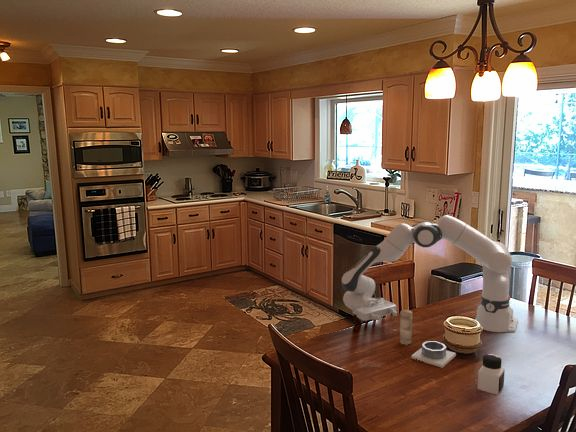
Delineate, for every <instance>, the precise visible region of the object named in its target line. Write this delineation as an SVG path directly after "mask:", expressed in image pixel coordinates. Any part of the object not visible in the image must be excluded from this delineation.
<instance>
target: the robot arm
mask: <svg viewBox="0 0 576 432" xmlns="http://www.w3.org/2000/svg"><path fill="white" fill-rule="evenodd" d="M441 239H443V240H446V241H448V243H451V244H453V246H456V247H457V248H459V249H460V250H462V251H464V252H465V253H466V254H469V255H470V256H471V257H472V258H473V259H475V260H476V261H477V262H479V263H480V264H482V289H481V291H482V292H481V296H480V304H479V305H477V309H476V317H475V318H474V319H475V320H477V321H478V322H479V323H480V324H481V326H482V327H483V328H484V329H483V330H484V331H487V332H492V333H506V332H510V333H515V332H516V330H517V326H518V323H519V319H518V318H516V317H515V316H514V309H513V308H512V307H511V306H510V300H511V296H510V295H509V290H510V289H509V287H510V279H509V278H510V277H509V270H510V268H511V266H512V264H513V259H512V258H513V257H512V255H511V253H510V251H509V249H508V248H507V246H506V245H505V243H502V242H500V241H494V240H492V239H490V238H489V237H488V236H486V235H485V234H483V233H482V232H481V231H479V230H477V229H475V228H474V227H473V226H471V225H469V224H468V223H466V222H464V221H462V220H460V219H458V218H456V217H454V216H452V215H451V216H450V215H448V214H445V215H443V216H441V217H440V218H438V220H437V221H436V222H435V223H433V222H432V221H430V220H429V221H428V220H423V221H420V222H418V223H415V224H413V225H409V224H408V223H404V222H402V223H399V224H397V225H396V226H395V227H394V228H393V229H392V230H391V231H390V232H389V233H388V234H387V236H386V237H385V238H384V239H383V241H381V242H380V243H379V244H377V245H375V246H372V247H370V249H368V250H367V251H366V253H364V255H363V256H362V257H361V258H360V259H358V261H357V262H356V263H354V264H353V265H352V266H351V267H350V268H349V269H348V270H346V271H345V272H344V273H343V274H342V275H341V278H340V279H341V280H340V282H341V286H342V288H343V290H344V291H346V292H345V293H344V294H343V297H342V300H343V303H344V305H345V306H346V307H347V308H348V309H349V310H352V314H353V315H355V316H356V317H357V318H358V319H359V320H360V321H363V322H366V321H370V320H376V321H377V322H378V321H381V320H382V317H385V316H388V315H391V316H393V317H395V316H398V312H397V304H396V303H393V302H391V301H389V300H386V299H384V298H383V297H374V295H375V292H376V287H377V286H376V285H377V284H376V282H375V280H374V279H373V278H371V277H369V276H367V275H364V273H365V272H366V271H367V270H369V268H370V267H371V266H372V265H374V264H376V263H381V262H382V263H383V262H387V263H388V262H389V263H390V262H391V263H392V262H397V261H398V260H399V259H400V258H401V257H402V256H403V254H404V253H406V250H407V249H408V248H409V247H410V246H411V245H412V244H414V243H416V245H418V246H419V247H421V248H430V247H433V246H434V245H435V244H437V243H438V242H439V241H440V240H441Z"/></svg>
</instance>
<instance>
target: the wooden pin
mask: <svg viewBox="0 0 576 432" xmlns="http://www.w3.org/2000/svg"><path fill="white" fill-rule="evenodd" d="M399 312H400V314H399V317H400V318H399V344H400V343H401V344H400V345H402V344H405V345H404V346H409V345H408V344H411V343H412V341H413V340H412V338H413V336H412V335H413V312H412V310H410V309H409V310H408V309H403V310H400V311H399ZM411 345H412V344H411Z"/></svg>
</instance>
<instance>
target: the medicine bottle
mask: <svg viewBox="0 0 576 432" xmlns="http://www.w3.org/2000/svg"><path fill="white" fill-rule="evenodd" d="M502 362H503V361H502V358H501V357H500V356H499V355H496V354H493V353H488V354H484V355H483V356H482V365H481V367H480V369H479V370H478V374H477V390H479V391H483V392H485V393H490V394H493V395H496V396H500V393H501V392H502V390H503V389H504V387H505V368H504V367H502Z"/></svg>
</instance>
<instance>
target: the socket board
mask: <svg viewBox="0 0 576 432" xmlns="http://www.w3.org/2000/svg"><path fill="white" fill-rule="evenodd" d="M456 356H457V353H456V352H453V351H450V350H447V346H446V345H445V344H444V343H442V342H438V341H436V340H432V341H431V340H429V341H428V340H427V341H425V342H423V343H422V344H421V348H419V349H418V350H416V351H415V352H414V353H413V354H411V359H413V360H416V359H417V360H416V361H419V360H420V361H419V362H422V361H423V362H424V363H425V364H429V365H432V366H436V367H439V368H440V369H441V368H442V369H443V368H444V367H445V366H446V365H447V364H449V362H450V361H452V360H453V359H455V357H456Z"/></svg>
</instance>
